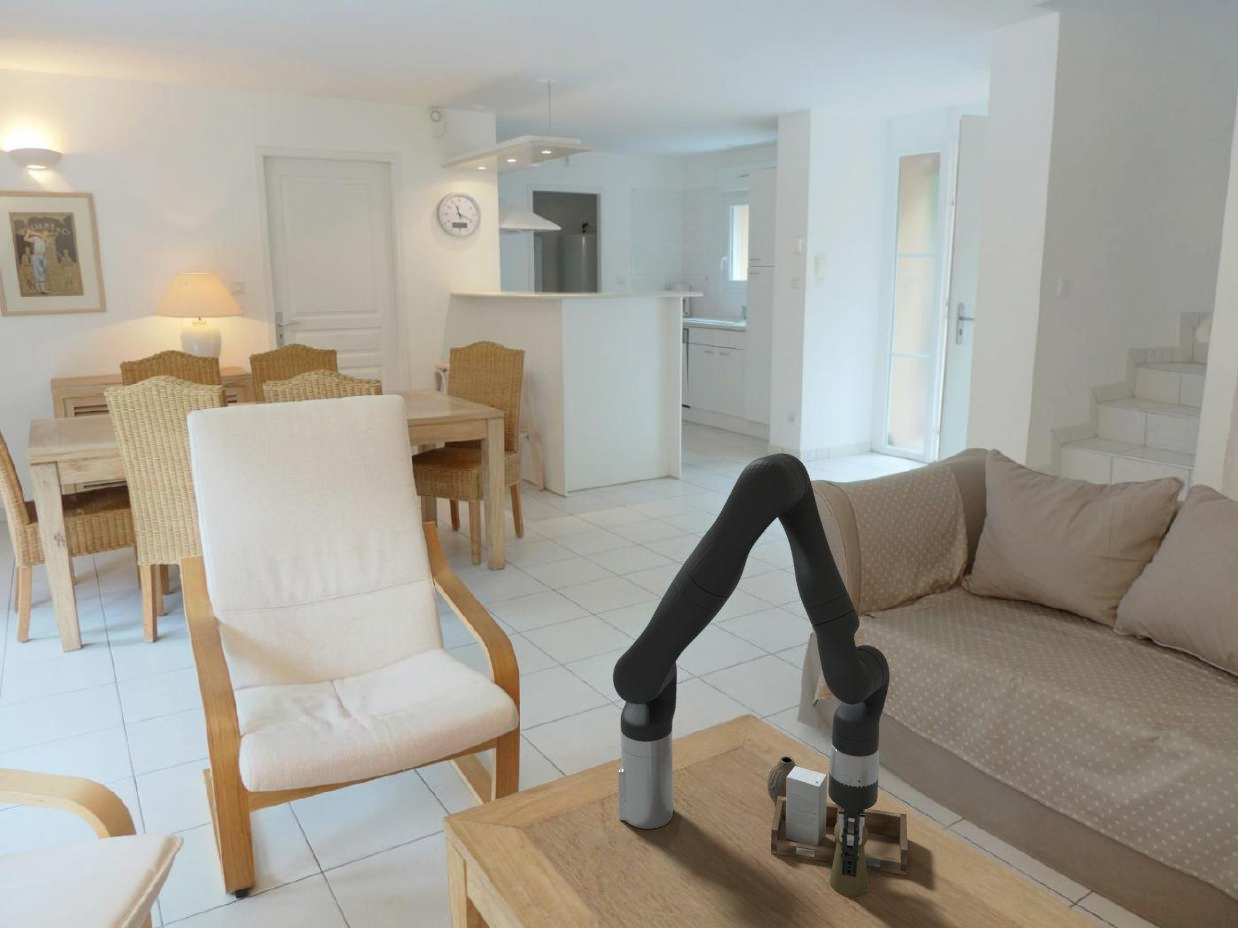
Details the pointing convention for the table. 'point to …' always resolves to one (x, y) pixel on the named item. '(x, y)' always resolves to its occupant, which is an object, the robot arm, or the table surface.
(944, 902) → the table surface
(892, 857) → the slot rack
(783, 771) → the vase
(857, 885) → the cork
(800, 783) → the skincare box
